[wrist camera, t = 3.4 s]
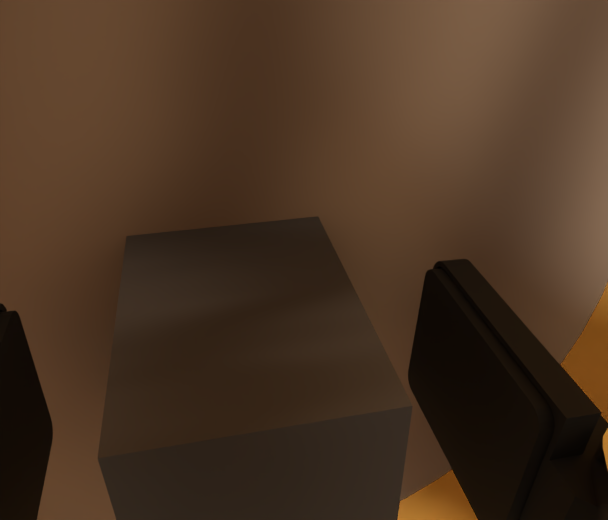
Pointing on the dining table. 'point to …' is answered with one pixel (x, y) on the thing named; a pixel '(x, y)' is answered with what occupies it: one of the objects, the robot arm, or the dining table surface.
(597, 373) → the dining table surface
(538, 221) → the lid
